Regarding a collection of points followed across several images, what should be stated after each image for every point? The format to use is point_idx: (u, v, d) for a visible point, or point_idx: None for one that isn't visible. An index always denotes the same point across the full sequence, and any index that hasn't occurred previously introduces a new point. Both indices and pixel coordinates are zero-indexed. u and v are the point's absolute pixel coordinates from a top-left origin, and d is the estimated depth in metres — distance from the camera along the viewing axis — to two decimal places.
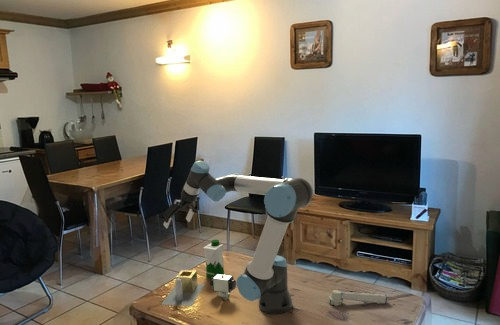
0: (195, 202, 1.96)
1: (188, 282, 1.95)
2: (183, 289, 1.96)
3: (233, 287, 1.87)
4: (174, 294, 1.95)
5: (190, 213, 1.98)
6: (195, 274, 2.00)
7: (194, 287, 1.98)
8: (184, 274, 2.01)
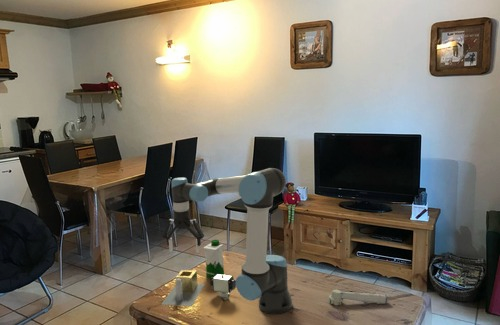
0: None
1: (188, 282, 1.95)
2: (183, 289, 1.96)
3: (233, 287, 1.87)
4: (174, 294, 1.95)
5: None
6: (195, 274, 2.00)
7: (194, 287, 1.98)
8: (184, 274, 2.01)
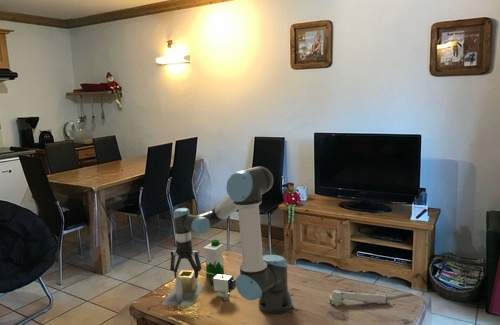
0: None
1: (188, 282, 1.95)
2: (183, 289, 1.96)
3: (233, 287, 1.87)
4: (174, 294, 1.95)
5: None
6: None
7: (194, 287, 1.98)
8: (184, 274, 2.01)
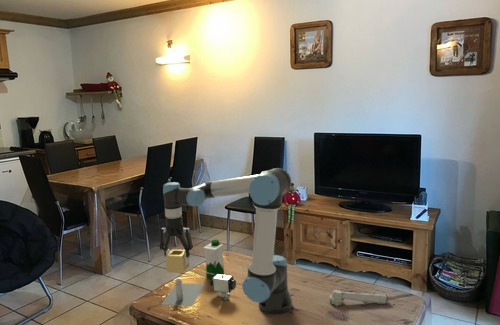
0: None
1: (178, 261, 1.82)
2: (173, 269, 1.83)
3: (233, 287, 1.87)
4: (174, 294, 1.95)
5: None
6: None
7: (185, 267, 1.86)
8: (175, 253, 1.89)
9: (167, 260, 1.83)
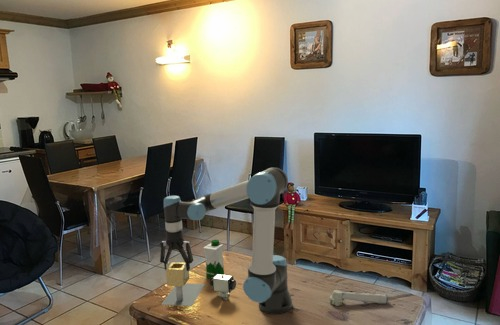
0: None
1: (178, 275, 1.82)
2: (173, 282, 1.83)
3: (233, 287, 1.87)
4: (174, 294, 1.95)
5: None
6: None
7: (185, 280, 1.86)
8: (175, 266, 1.89)
9: (167, 273, 1.83)
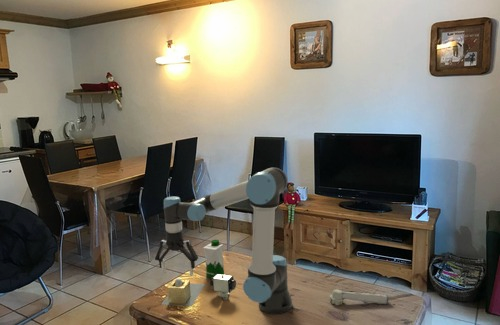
0: None
1: (180, 293, 1.84)
2: (175, 300, 1.85)
3: (233, 287, 1.87)
4: None
5: None
6: (188, 284, 1.89)
7: (187, 298, 1.87)
8: None
9: (169, 292, 1.85)
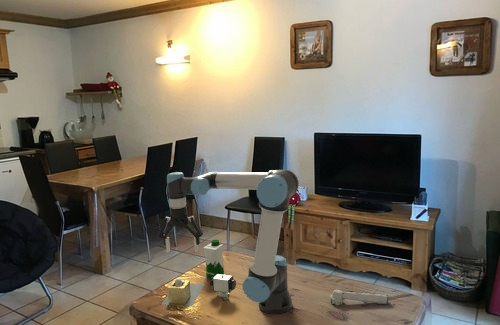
0: None
1: (180, 293, 1.84)
2: (175, 300, 1.85)
3: (233, 287, 1.87)
4: None
5: None
6: (188, 284, 1.89)
7: (187, 298, 1.87)
8: None
9: (169, 292, 1.85)
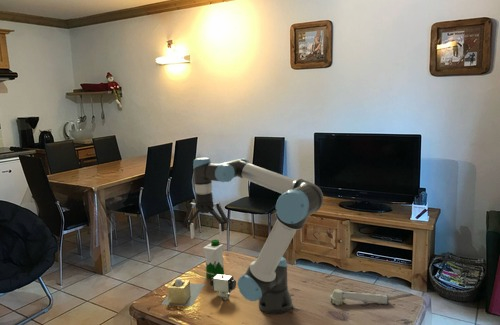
0: None
1: (180, 293, 1.84)
2: (175, 300, 1.85)
3: (233, 287, 1.87)
4: None
5: None
6: (188, 284, 1.89)
7: (187, 298, 1.87)
8: None
9: (169, 292, 1.85)
